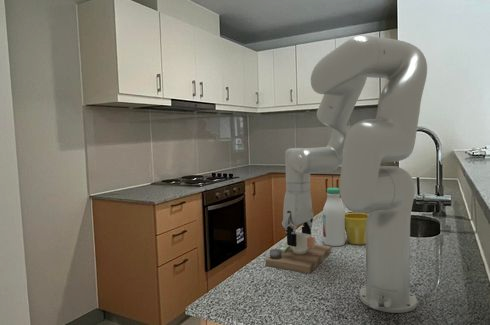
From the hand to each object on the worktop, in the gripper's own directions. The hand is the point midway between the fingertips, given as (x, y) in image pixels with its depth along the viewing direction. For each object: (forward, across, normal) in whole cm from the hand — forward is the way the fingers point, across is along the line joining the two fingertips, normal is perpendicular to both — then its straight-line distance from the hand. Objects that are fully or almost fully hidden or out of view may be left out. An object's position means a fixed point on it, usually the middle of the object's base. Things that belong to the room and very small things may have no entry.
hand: (299, 242), depth 112 cm
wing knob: (+3, 0, 0) cm, 3 cm away
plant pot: (+6, -27, +7) cm, 28 cm away
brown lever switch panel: (+5, 0, 0) cm, 5 cm away
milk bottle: (+6, -21, +1) cm, 21 cm away
